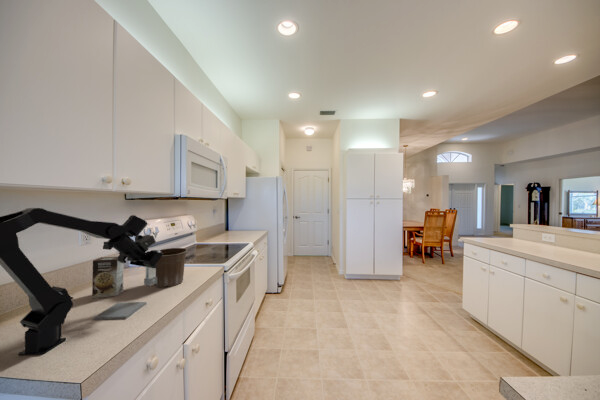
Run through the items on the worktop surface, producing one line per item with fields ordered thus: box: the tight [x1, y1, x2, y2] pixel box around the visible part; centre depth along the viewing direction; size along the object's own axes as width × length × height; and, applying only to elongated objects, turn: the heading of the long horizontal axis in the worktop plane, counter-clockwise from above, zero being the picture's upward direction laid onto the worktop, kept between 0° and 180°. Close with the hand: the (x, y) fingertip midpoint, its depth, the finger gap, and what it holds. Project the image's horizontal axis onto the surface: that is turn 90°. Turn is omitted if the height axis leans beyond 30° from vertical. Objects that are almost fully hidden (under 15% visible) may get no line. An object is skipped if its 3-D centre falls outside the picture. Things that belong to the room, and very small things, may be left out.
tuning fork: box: [143, 267, 157, 286], centre depth 93 cm, size 3×3×12 cm
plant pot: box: [154, 247, 188, 288], centre depth 111 cm, size 16×16×16 cm
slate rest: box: [93, 301, 147, 321], centre depth 83 cm, size 11×11×1 cm
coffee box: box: [91, 256, 125, 299], centre depth 98 cm, size 9×6×16 cm
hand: (153, 267), depth 94 cm, fingers closed on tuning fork, 2 cm apart
